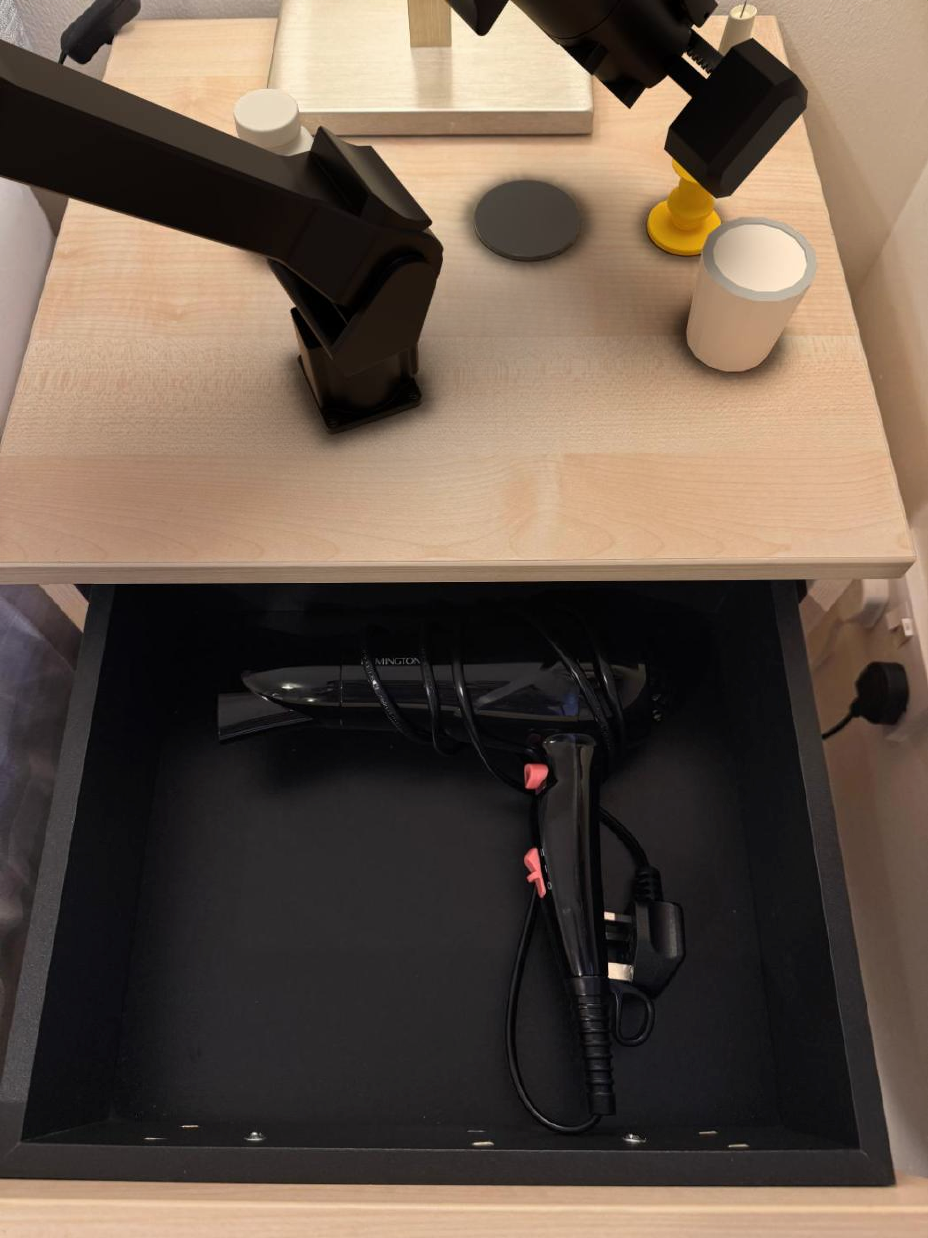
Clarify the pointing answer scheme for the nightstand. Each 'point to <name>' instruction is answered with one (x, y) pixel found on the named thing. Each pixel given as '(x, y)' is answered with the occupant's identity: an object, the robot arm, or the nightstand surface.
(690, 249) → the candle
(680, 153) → the robot arm
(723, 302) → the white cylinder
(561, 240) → the coaster
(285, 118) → the pill bottle
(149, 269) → the nightstand surface
